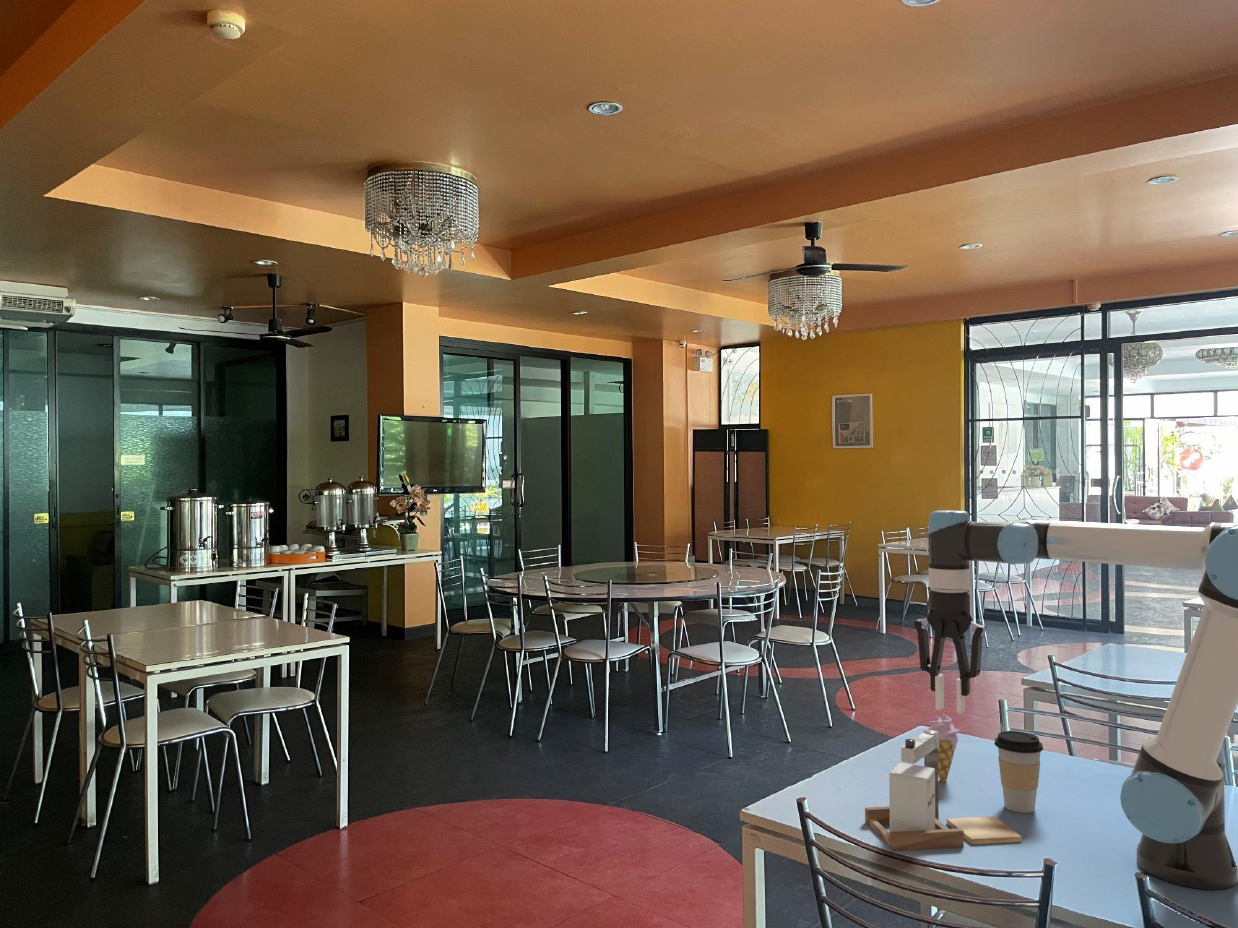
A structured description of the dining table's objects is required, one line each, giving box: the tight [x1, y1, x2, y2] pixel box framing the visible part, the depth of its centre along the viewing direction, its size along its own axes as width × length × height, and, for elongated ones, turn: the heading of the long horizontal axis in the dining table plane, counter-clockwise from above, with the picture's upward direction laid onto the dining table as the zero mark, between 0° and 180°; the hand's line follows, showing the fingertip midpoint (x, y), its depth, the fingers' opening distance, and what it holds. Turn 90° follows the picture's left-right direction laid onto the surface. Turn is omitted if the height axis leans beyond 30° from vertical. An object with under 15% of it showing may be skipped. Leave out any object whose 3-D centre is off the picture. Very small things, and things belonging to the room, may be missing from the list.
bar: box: [900, 729, 939, 765], centre depth 177 cm, size 14×3×4 cm, turn 141°
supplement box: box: [888, 762, 936, 833], centre depth 174 cm, size 7×7×13 cm
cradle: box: [864, 749, 965, 852], centre depth 175 cm, size 15×16×14 cm
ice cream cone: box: [927, 713, 961, 783], centre depth 203 cm, size 7×6×15 cm
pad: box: [946, 815, 1022, 845], centre depth 174 cm, size 10×10×1 cm
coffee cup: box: [993, 730, 1044, 814], centre depth 187 cm, size 9×9×15 cm
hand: (950, 709), depth 173 cm, fingers open, 3 cm apart
